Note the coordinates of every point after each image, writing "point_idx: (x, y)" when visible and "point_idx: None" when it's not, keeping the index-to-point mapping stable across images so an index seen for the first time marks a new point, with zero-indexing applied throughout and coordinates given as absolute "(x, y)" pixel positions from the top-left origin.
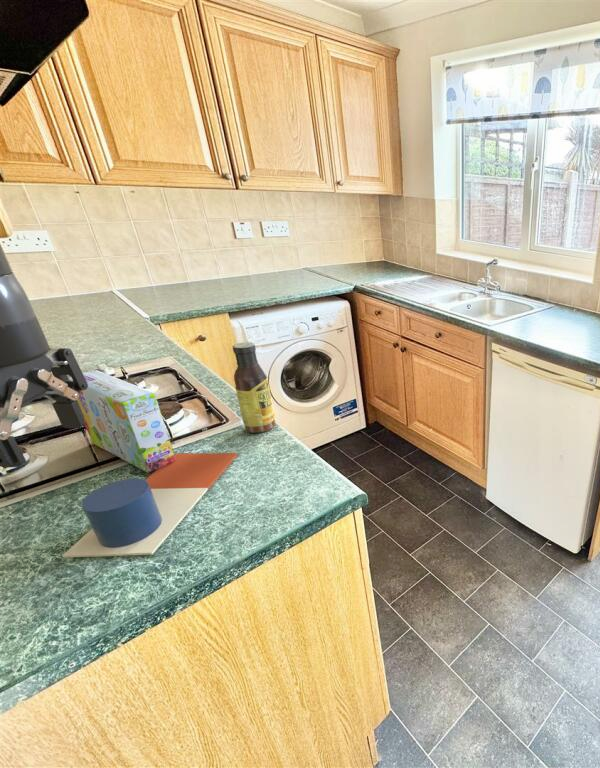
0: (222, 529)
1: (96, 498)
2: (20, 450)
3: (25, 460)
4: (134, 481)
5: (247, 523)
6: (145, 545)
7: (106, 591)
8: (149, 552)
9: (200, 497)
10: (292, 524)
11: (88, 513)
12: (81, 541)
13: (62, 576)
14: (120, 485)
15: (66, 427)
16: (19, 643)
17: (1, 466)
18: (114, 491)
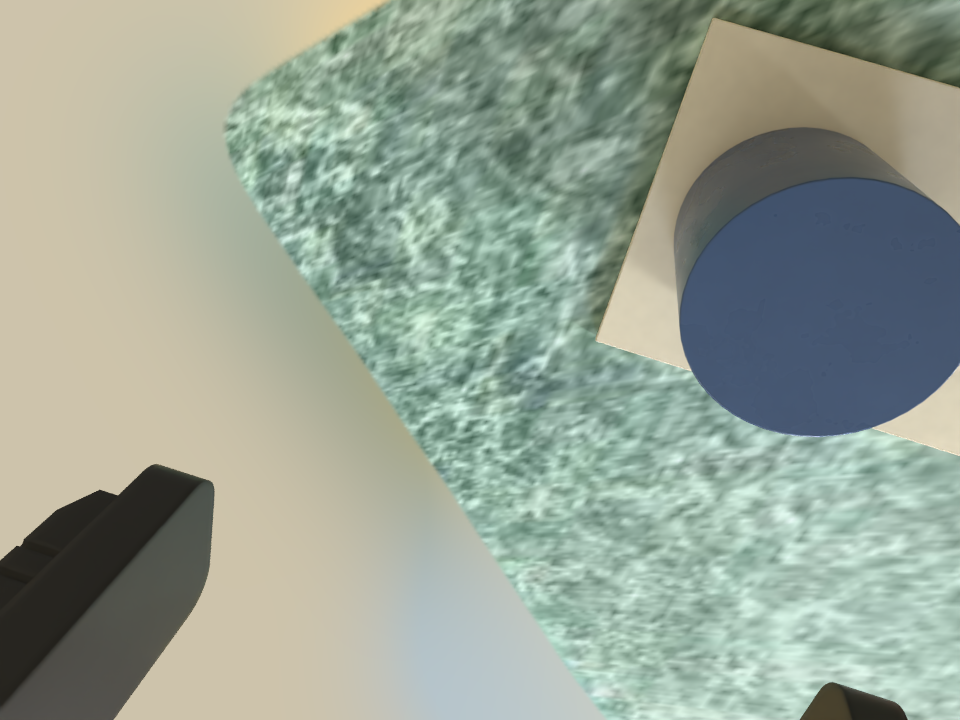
0: (649, 513)
1: (829, 235)
2: (123, 698)
3: (188, 610)
4: (926, 367)
5: (650, 574)
6: (647, 313)
7: (460, 247)
8: (600, 334)
9: (909, 438)
10: (591, 671)
11: (717, 225)
12: (790, 59)
13: (588, 68)
14: (918, 312)
15: (828, 694)
16: (310, 77)
17: (160, 466)
18: (861, 301)
